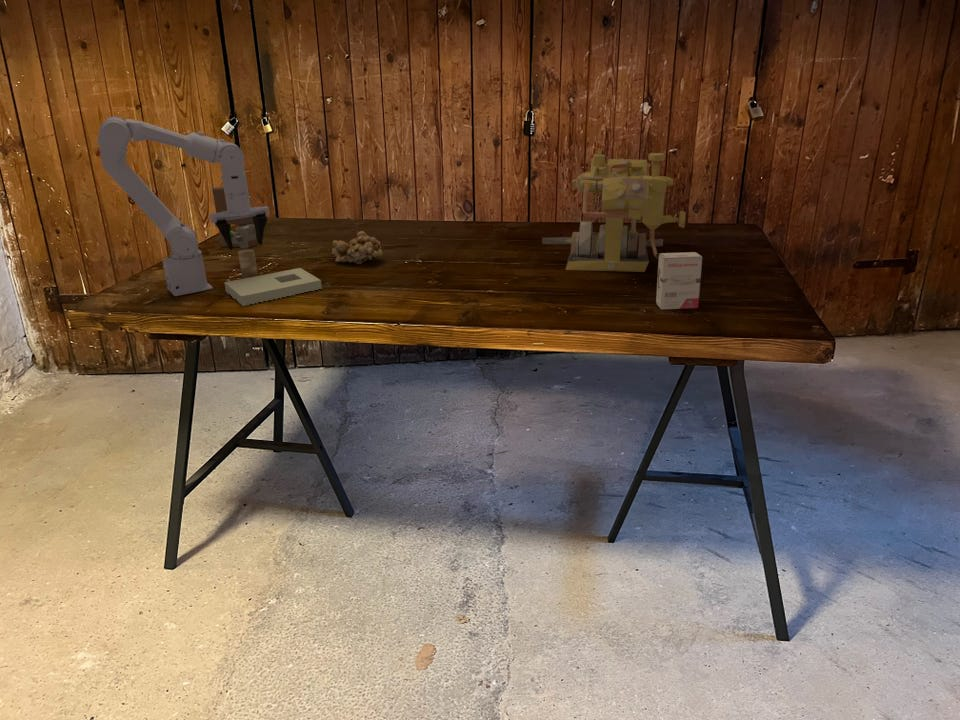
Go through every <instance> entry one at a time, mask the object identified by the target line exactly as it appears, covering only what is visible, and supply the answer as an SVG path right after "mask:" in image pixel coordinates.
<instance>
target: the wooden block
mask: <svg viewBox="0 0 960 720" xmlns="http://www.w3.org/2000/svg"><path fill="white" fill-rule="evenodd" d="M212 195H213V200H214V207H215V213H219V212H223V211H228V210H227V205H226V199H225V193H224V187H223V186H216V187H215V186H214V187H213V188H212ZM250 206H251V207H252V204H251V203H250ZM235 217H237V216H235ZM226 222H228V224H229V225H230V231H233V230H232V225H238V227H242V226H246V225H254V222H253V219H252V217H247V218H240V219H233V220H226ZM217 237H218V243H219V247H220V248H228V247H227V244H226V241H225V239H224V237H223V235H222V234H221V232H220V231H219V235H218V236H217ZM237 240H238V238H236V241H237ZM257 244H258V243H257V240H256V239H254V240H250V241H248V245H249V247H248V248H253V247H256V246H257ZM232 245H233V248H240V244H232Z"/></svg>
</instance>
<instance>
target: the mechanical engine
mask: <svg viewBox="0 0 960 720" xmlns="http://www.w3.org/2000/svg"><path fill="white" fill-rule="evenodd" d="M647 157H648V160H647V159H633V158H632V159H630V158H629V159H626V158H624V157H621V158H609V159H607V163H606V155H605V154H602V149H599V148H597V153H596V154H593V157H592V160H591V163H590V172H589V171H587V172H586V171H585V172H581V174H579V176H578V177H577V179H572V186H574V187H576V189H577V191H579V192H580V193H581V192H583V193H582V211H581V212H582V214H583V215H584V216H585V217H587V218H605V223H604V224H600V226H599V232H597V231H596V232H595V231H594V232H593V221H580V223H579V224H580V225H579V231H573V232H572V234H571V236H560V237H559V236H558V237H556V236H555V237H542V238H541V241H542V242H541V243H542V245H570V253H569V255H568V258H567V262H566V266H565V271H596V272H598V271H599V272H600V271H601V272H629V273H630V272H632V273H633V272H637V273H639V272H640V273H644V272H646V269H647V267H648V265H649V263H650V260H649V255H648V250H647V247H651V249H652V252H653V255H654V258H656V260H659V254H658V251H657V248H656V247H663V246H664V238H655V231H656V230H657V228H659V227H660V226H661V225H663V224H667V223H674V222H678V224H677V225H678V227H680V228H682V229H685V226H686V225H685V224H686V211H683V210H679V213H678V216H677V217H676V216H675V217H674V216H673V215H672V214H670V215H669V214H667V215H665V214H664V210H665V209H664V207H665V198H666V193H667V187H674V181H675V180H674V178H672V177H669V176H665V175H664V176H662V175H660V171H661V167H660V163H659V162H661V161H665V160H666V154H665V153H662V152H655V153H654V152H652V153H651V152H650V153H648V156H647ZM648 161H651V163H648ZM651 165H652V166H651ZM650 167H651V175H650V172H649V170H648V168H650ZM589 193H602V195H601V211H588V199H589V198H588V196H589ZM641 217H642V218H641ZM625 219H631V222H630V228H629V226H628V225H624V220H625ZM641 219H642V221H641V222H642V223H643V225H644V226H645V227H646V228H647V229H648V230H649V239H646V238H647V233H640V232H639V231H637V229H636V228H637V221H638V220H641ZM628 229H629V230H628Z"/></svg>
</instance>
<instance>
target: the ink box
mask: <svg viewBox="0 0 960 720" xmlns="http://www.w3.org/2000/svg"><path fill="white" fill-rule="evenodd" d="M702 265H703V256H702V255H700V254H699V253H698V252H695V251H690V252H665V253H664V252H662V253H661V252H660V253H658V265H657V266H658V267H657V279H656V281H657V282H656V294H655V295H656V297H655V299H656V300H655V303H656V305H657V306H658V307H659V308H660V310H680V309H683V310H685V309H698V308H699V302H700V301H699V300H700V292H701V291H700V290H701V278H702Z"/></svg>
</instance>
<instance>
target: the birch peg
mask: <svg viewBox="0 0 960 720" xmlns="http://www.w3.org/2000/svg"><path fill="white" fill-rule="evenodd" d="M237 254H238V255H237V256H238V259H239V260H238V261H239V266H240V272H241V279H245V278H250V277H255V276H259V273H258V267H257V261H256V255H255V254H256V253H255V250H254V249H248V250H242V249H241V250H238V252H237Z"/></svg>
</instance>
